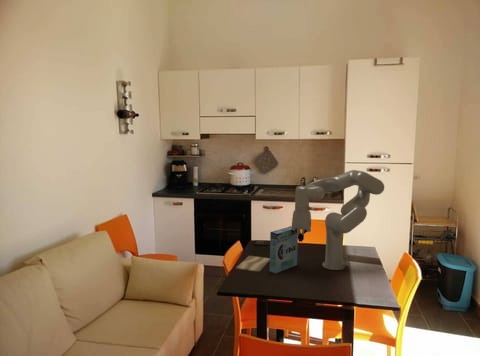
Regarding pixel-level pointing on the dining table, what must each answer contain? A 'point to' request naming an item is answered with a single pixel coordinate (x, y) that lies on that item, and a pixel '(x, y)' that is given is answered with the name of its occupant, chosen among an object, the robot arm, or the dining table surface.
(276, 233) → the gum box
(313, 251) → the dining table surface
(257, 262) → the board
